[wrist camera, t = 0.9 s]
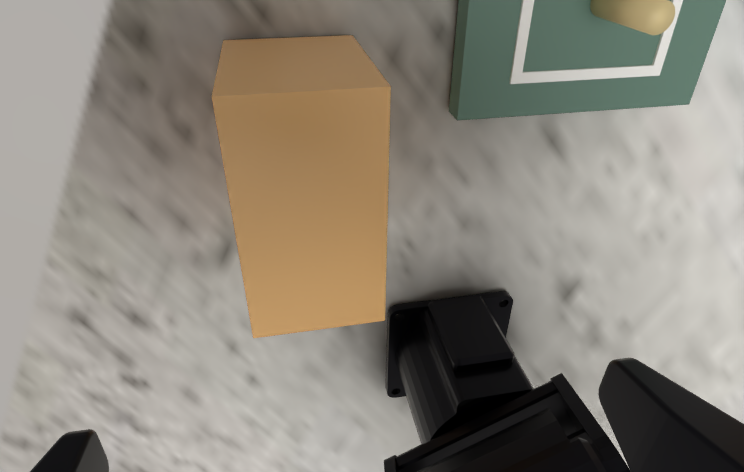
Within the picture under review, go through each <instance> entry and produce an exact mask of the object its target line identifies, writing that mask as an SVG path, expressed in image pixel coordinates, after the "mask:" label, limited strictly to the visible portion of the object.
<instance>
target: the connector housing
mask: <svg viewBox="0 0 744 472" xmlns="http://www.w3.org/2000/svg"><path fill="white" fill-rule="evenodd" d="M390 95H391V86H390V85H389V84H388V82H387V81H386V80H385V78H384V77H383V76H382V74H381V73H380V71H379V70H378V69H377V67H376V66H375V65H374V63H373V62H372V61H371V59H370V58H369V57H368V55H367V54H366V53H365V51H364V50H363V49H362V47H361V46H360V45H359V43H358V42H357V41H356V39H355V38H354V37H353V35H344V36H319V37H293V38H267V39H242V40H223V44H222V49H221V54H220V59H219V63H218V68H217V73H216V78H215V83H214V87H213V92H212V102H213V108H214V113H215V119H216V125H217V131H218V137H219V142H220V148H221V154H222V160H223V166H224V171H225V177H226V183H227V189H228V195H229V200H230V206H231V212H232V218H233V224H234V229H235V235H236V241H237V247H238V253H239V258H240V264H241V270H242V276H243V282H244V287H245V293H246V299H247V305H248V310H249V316H250V322H251V328H252V334H253V338H259V337H267V336H274V335H282V334H289V333H297V332H304V331H312V330H319V329H327V328H334V327H342V326H349V325H357V324H364V323H372V322H379V321H385V300H386V259H387V218H388V177H389V136H390Z"/></svg>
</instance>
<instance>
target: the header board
mask: <svg viewBox="0 0 744 472" xmlns="http://www.w3.org/2000/svg"><path fill="white" fill-rule="evenodd" d="M725 2H726V0H459V3H458V15H457V26H456V37H455V48H454V59H453V70H452V81H451V92H450V103H449V112H450V113H451V114H452V115H453V116H454V118H455V119H456V120H470V119H485V118H499V117H514V116H528V115H543V114H557V113H571V112H586V111H600V110H615V109H629V108H644V107H658V106H673V105H687V104H689V103H690V100H691V98H692V95H693V92H694V89H695V86H696V84H697V81H698V78H699V75H700V72H701V69H702V67H703V64H704V61H705V58H706V55H707V53H708V50H709V47H710V44H711V41H712V39H713V36H714V33H715V30H716V27H717V25H718V22H719V19H720V16H721V13H722V11H723V8H724V5H725Z"/></svg>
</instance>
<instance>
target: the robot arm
mask: <svg viewBox="0 0 744 472" xmlns="http://www.w3.org/2000/svg"><path fill="white" fill-rule="evenodd" d="M502 300H504V301H503V302H501V301H502ZM512 305H513V299H512V298H511V296H510V295H509V293H508V292H506V291H499V292H491V293H484V294H476V295H468V296H460V297H452V298H445V299H437V300H429V301H421V302H414V303H406V304H398V305H394V306H393V307H391V308H390V309H389V311H388V322H387V358H386V390H387V394H388V396H389V397H392V398H396V397H402V396H407V399H408V403H409V406H410V409H411V412H412V416H413V419H414V422H415V425H416V428H417V432H418V435H419V438H420V441H421V445H419V446H417V447H415V448H413V449H411V450H409V451H407V452H405V453H403V454H401V455H399V456H396V455H394V456H392V457H390V458H388V459H386V460H384V469H385V472H744V424H743V423H741V422H739V421H738V420H736V419H735V418H733V417H731V416H730V415H728V414H726V413H725V412H723V411H721V410H720V409H718V408H716V407H715V406H713V405H711V404H710V403H708V402H706V401H705V400H703V399H701V398H700V397H698V396H696V395H695V394H693V393H691V392H690V391H688V390H686V389H685V388H683V387H681V386H680V385H678V384H676V383H675V382H673V381H671V380H670V379H668V378H666V377H665V376H663V375H661V374H660V373H658V372H656V371H655V370H653V369H651V368H650V367H648V366H646V365H645V364H643V363H641V362H640V361H638V360H636V359H634V358H623V359H616V360H612V361H611V362H610V363H609V364H608V367H607V369H606V372H605V374H604V377H603V379H602V382H601V384H600V387H599V399H600V402H601V405H602V407H603V409H604V412H605V414H606V416H607V419H608V421H609V423H610V425H611V428H612V430H613V432H614V434H615V437H616V439H617V441H618V443H619V446H620V448H621V450H622V453H623V455H624V457H625V459H626V462H627V464H628V466H629V468H630V469H629V468H628V466H627V465H626V463H625V462H624V460H623V458H622V457H621V455H620V454H619V452H618V451H617V449H616V448H615V446H614V445H613V443H612V442H611V440H610V439H609V437H608V436H607V435H606V433H605V432H604V430H603V429H602V428H601V426H600V425H599V424H598V422H597V421H596V419H595V418H594V417H593V415H592V414H591V413H590V411H589V410H588V409H587V407H586V406H585V404H584V403H583V402H582V400H581V399H580V398H579V396H578V395H577V393H576V392H575V391H574V389H573V388H572V387H571V385H570V384H569V382H568V381H567V380H566V378H565V377H564V376H563V374H562V373H561V374H559V375H557V376H555V377H553V378H551V381H550V382H548V383H546V384H544V385H541V386H539V387H537V388H535V389H534V388H533V387H532V385H531V383H530V381H529V380H528V378H527V376H526V375H525V373H524V371H523V369H522V368H521V366H520V364H519V362H518V361H517V359H516V357H515V355H514V352H513V350H512V348H511V347H510V345H509V343H508V342H507V340H506V334H507V329H508V324H509V319H510V314H511V309H512ZM397 314H401V315H399V316H396V315H397ZM630 470H631V471H630ZM30 472H109V464H108V460H107V457H106V454H105V452H104V450H103V447H102V445H101V442H100V440H99V438H98V435H97V433H96V432H95V431H94V430H90V429H88V430H81V431H73V432H68V433H66V434H64V435H63V436H62V437H61V438H60V439H59V440H58V441H57V442H56V443H55V444H54V445H53V446H52V447H51V449H50V450H49V451H48V452H47V453H46V454H45V455H44V456H43V458H42V459H41V460H40V461H39V462H38V463H37V464H36V465H35V467H34V468H33V469H32V470H31V471H30Z"/></svg>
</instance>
